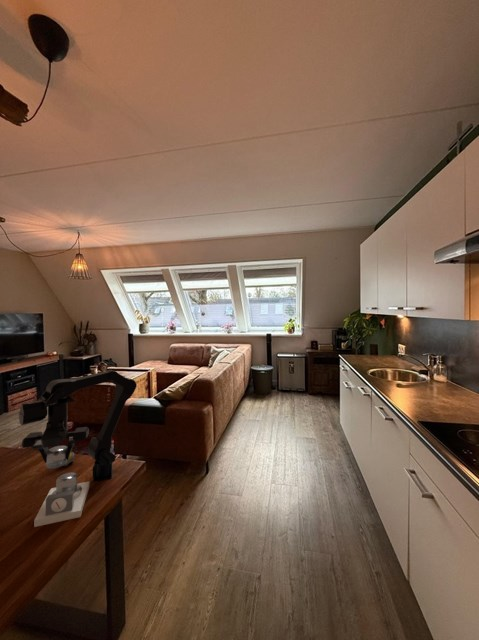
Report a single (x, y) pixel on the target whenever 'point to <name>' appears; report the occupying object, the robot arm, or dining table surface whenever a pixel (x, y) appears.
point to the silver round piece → (66, 483)
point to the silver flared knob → (56, 457)
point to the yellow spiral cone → (70, 458)
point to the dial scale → (62, 505)
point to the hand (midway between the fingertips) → (57, 460)
